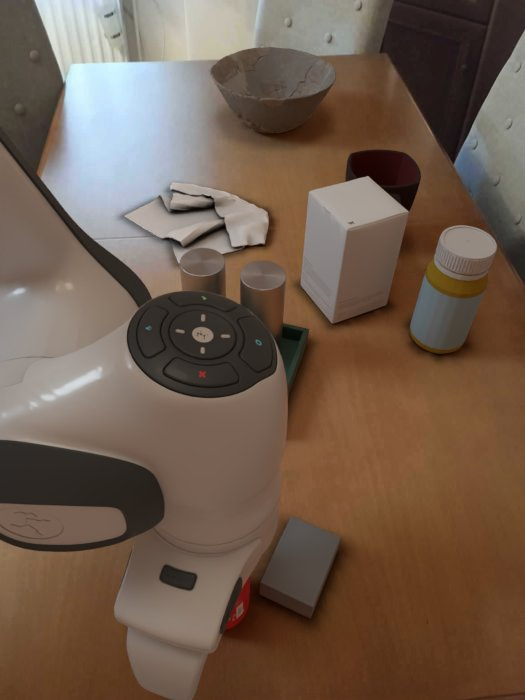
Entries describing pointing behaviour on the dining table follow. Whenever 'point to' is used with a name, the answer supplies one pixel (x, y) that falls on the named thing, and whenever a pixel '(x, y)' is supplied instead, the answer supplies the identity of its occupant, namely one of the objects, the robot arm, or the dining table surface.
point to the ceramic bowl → (273, 86)
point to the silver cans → (255, 285)
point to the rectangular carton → (351, 247)
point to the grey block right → (299, 566)
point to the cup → (387, 173)
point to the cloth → (203, 220)
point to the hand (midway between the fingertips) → (218, 583)
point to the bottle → (452, 289)
